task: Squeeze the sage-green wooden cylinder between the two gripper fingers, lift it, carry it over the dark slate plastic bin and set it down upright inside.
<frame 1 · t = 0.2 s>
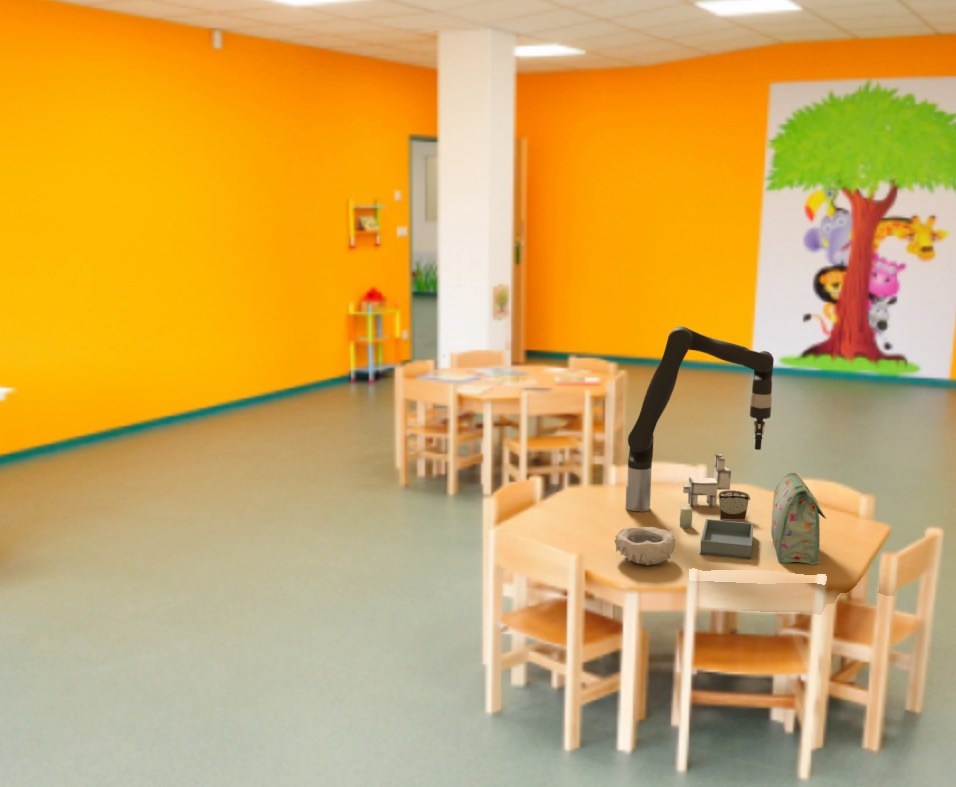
hand: (758, 446, 378), 29 cm above the table, fingers open, 8 cm apart
food container: (731, 517, 387), on the table
toy llama: (704, 504, 402), on the table
sage cylinder: (685, 526, 376), on the table
bowl: (645, 561, 342), on the table
lunch bag: (794, 553, 350), on the table
bin: (727, 545, 357), on the table
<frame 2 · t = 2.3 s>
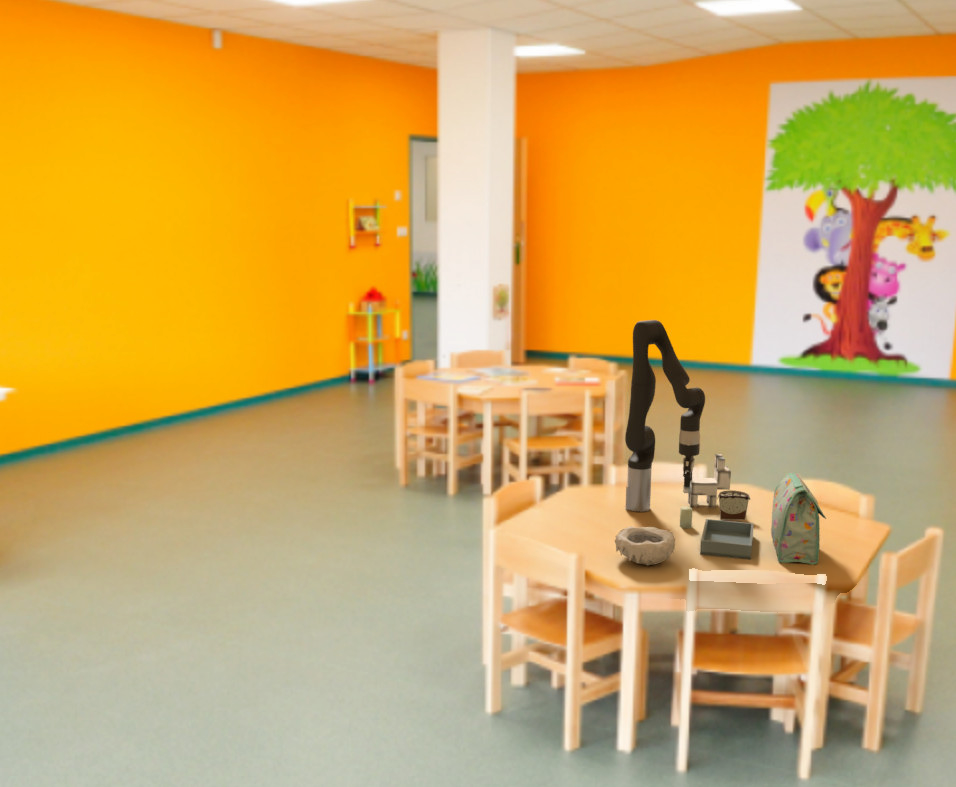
hand: (687, 483, 373), 17 cm above the table, fingers open, 8 cm apart
nothing on the table moved.
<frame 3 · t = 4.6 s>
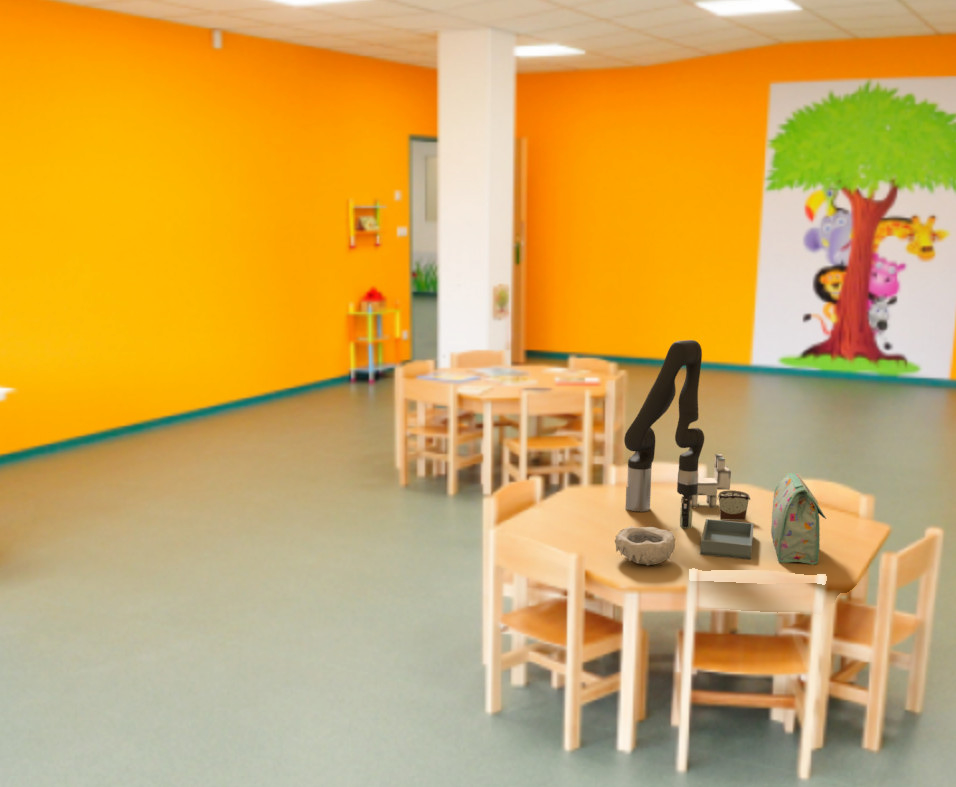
hand: (685, 524, 376), 1 cm above the table, fingers closed on sage cylinder, 4 cm apart
sage cylinder: (685, 526, 376), on the table, touching gripper
everything else where it was.
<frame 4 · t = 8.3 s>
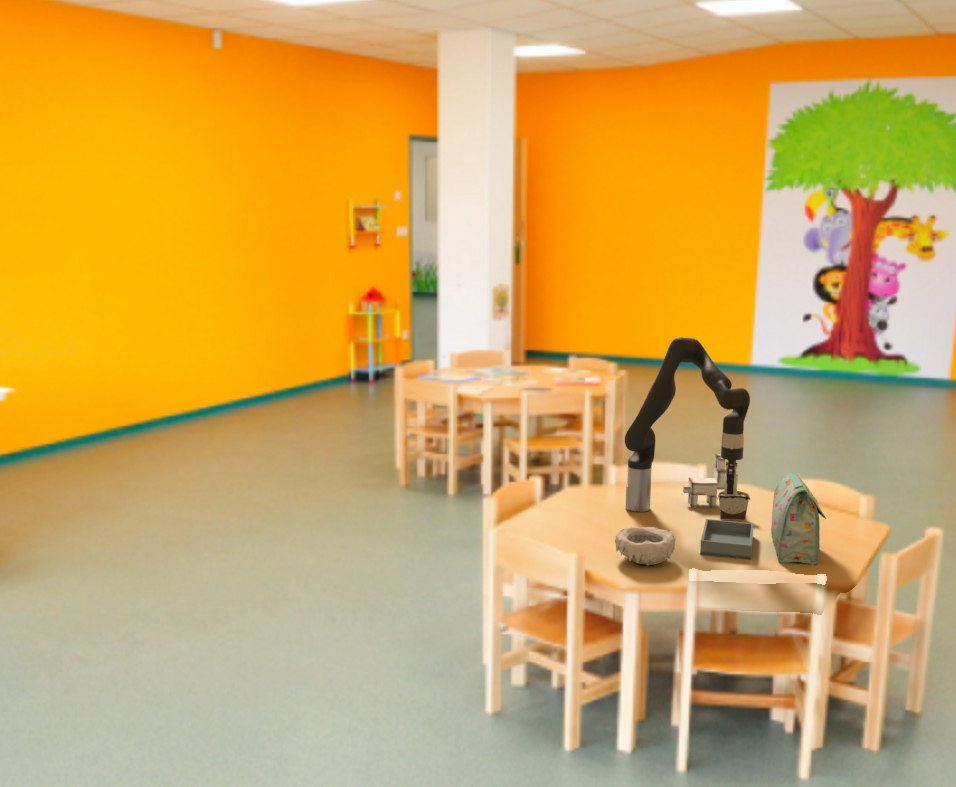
hand: (730, 491, 353), 20 cm above the table, fingers closed on sage cylinder, 4 cm apart
sage cylinder: (730, 493, 353), point 19 cm above the table, touching gripper
everything else where it was.
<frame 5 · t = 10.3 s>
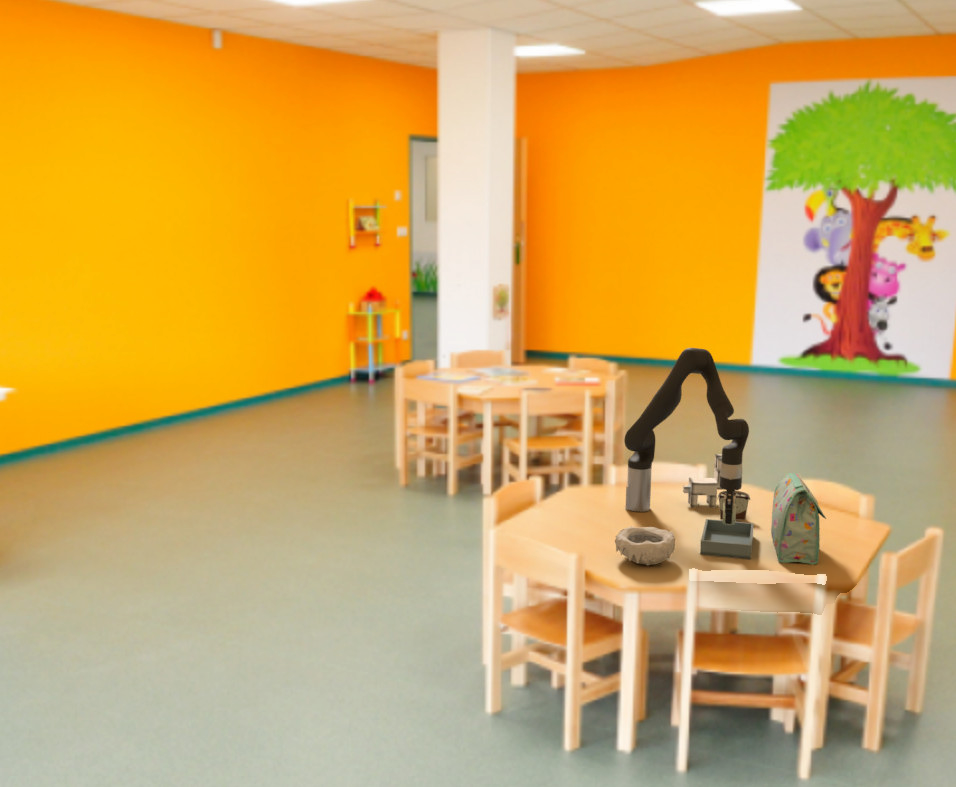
hand: (728, 521, 355), 9 cm above the table, fingers closed on sage cylinder, 4 cm apart
sage cylinder: (728, 523, 355), point 8 cm above the table, touching gripper
everything else where it was.
when the fingers open (4 cm above the table, at t = 12.2 s): sage cylinder drops 2 cm, resting on bin.
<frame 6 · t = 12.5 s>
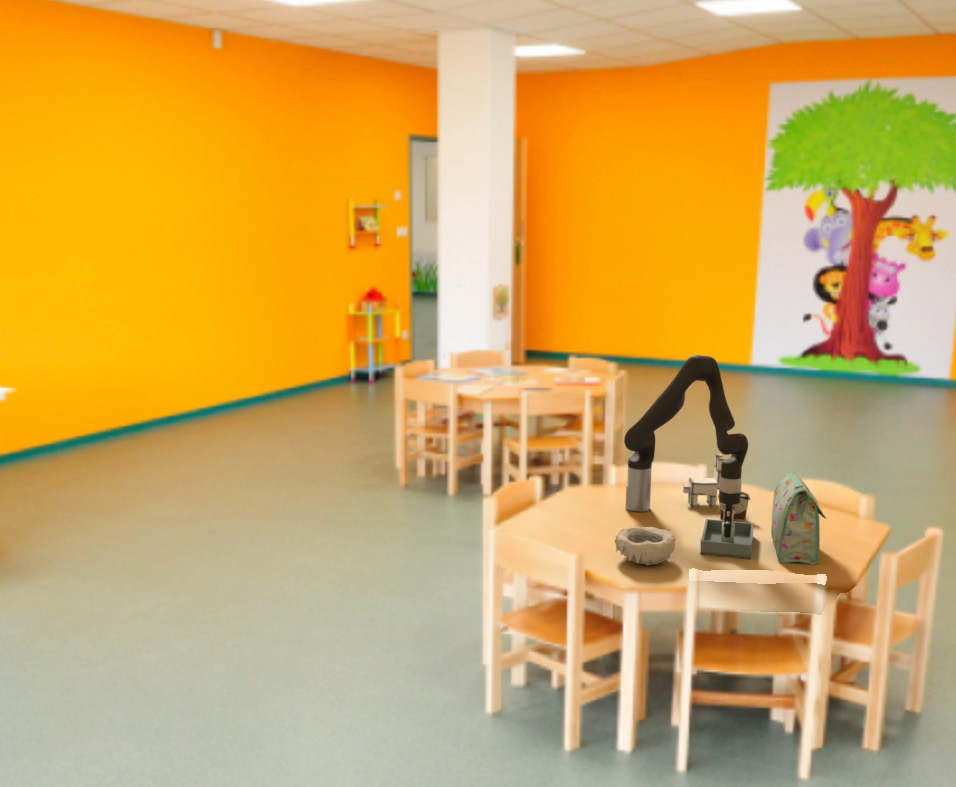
hand: (727, 533, 356), 4 cm above the table, fingers open, 7 cm apart
sage cylinder: (727, 542, 357), point 1 cm above the table, touching bin
everything else where it was.
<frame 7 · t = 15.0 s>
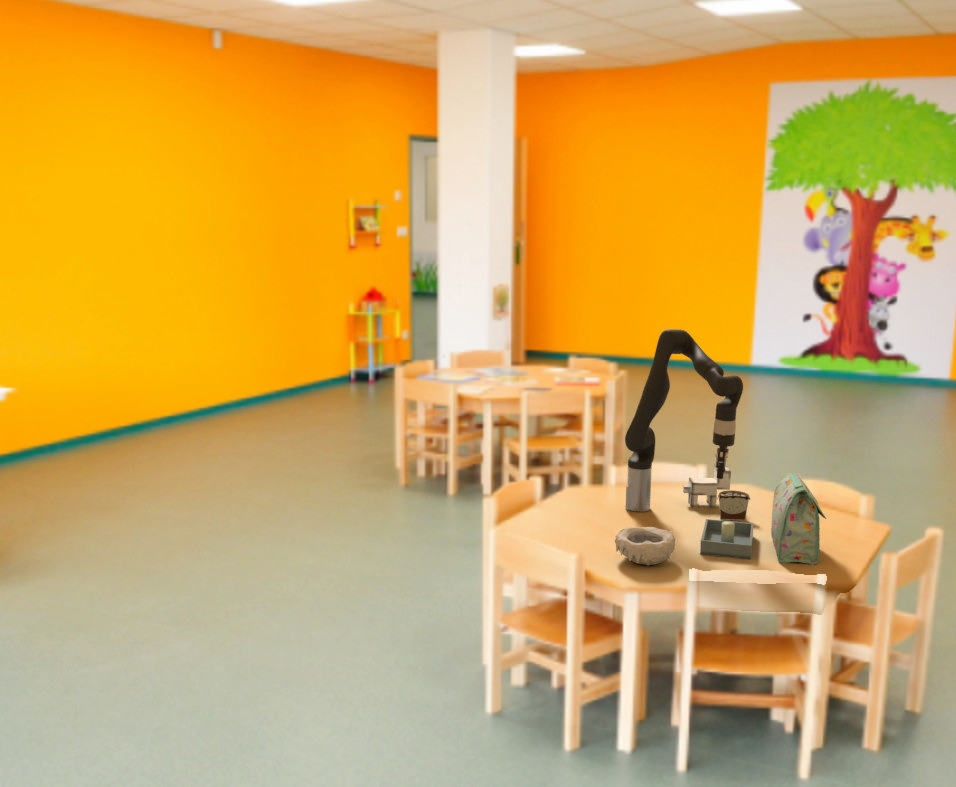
hand: (720, 474, 358), 24 cm above the table, fingers open, 8 cm apart
nothing on the table moved.
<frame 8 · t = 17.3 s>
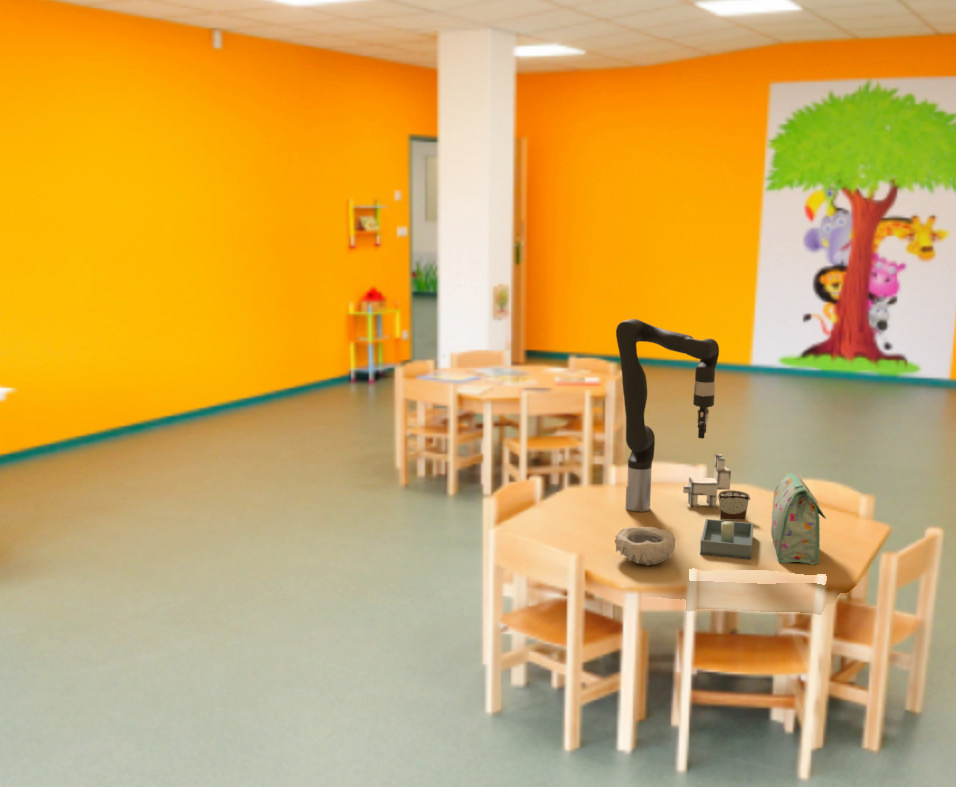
hand: (702, 435, 374), 34 cm above the table, fingers open, 8 cm apart
nothing on the table moved.
at the end: sage cylinder inside the target area on the bin (0.2 cm from its centre), point 1.1 cm above the bin's base; sage cylinder tilted 2°; the gripper is holding nothing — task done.
